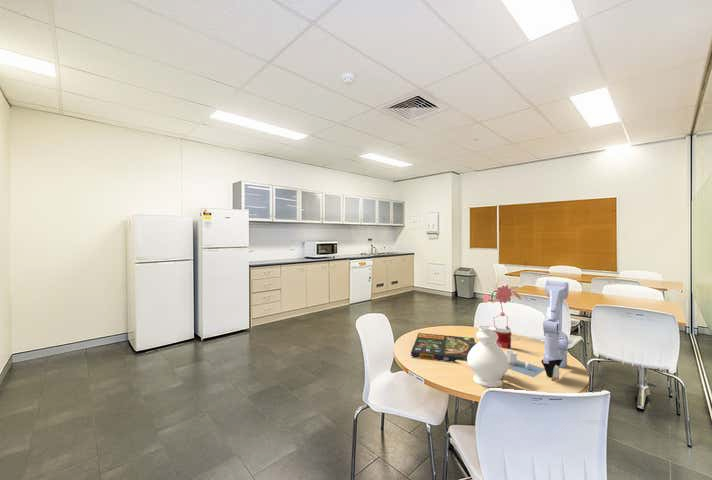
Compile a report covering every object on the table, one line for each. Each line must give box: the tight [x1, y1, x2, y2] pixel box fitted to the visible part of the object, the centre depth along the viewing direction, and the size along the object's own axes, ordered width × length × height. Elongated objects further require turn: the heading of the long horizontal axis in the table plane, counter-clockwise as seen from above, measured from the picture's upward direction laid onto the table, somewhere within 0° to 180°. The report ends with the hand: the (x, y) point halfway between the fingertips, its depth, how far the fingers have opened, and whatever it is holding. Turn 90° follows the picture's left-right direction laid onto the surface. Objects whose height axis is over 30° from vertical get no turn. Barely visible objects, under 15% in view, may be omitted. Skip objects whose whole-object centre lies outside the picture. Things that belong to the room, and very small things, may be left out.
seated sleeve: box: [504, 349, 518, 366], centre depth 156 cm, size 5×5×6 cm
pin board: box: [508, 359, 545, 378], centre depth 152 cm, size 14×19×4 cm
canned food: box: [495, 328, 512, 350], centre depth 181 cm, size 8×8×11 cm
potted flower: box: [482, 284, 522, 340], centre depth 201 cm, size 15×26×35 cm, turn 98°
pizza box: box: [410, 332, 476, 363], centre depth 180 cm, size 35×35×4 cm
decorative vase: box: [466, 324, 509, 388], centre depth 140 cm, size 18×18×25 cm
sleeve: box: [544, 365, 560, 382], centre depth 142 cm, size 5×5×6 cm
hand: (552, 374), depth 142 cm, fingers open, 5 cm apart
